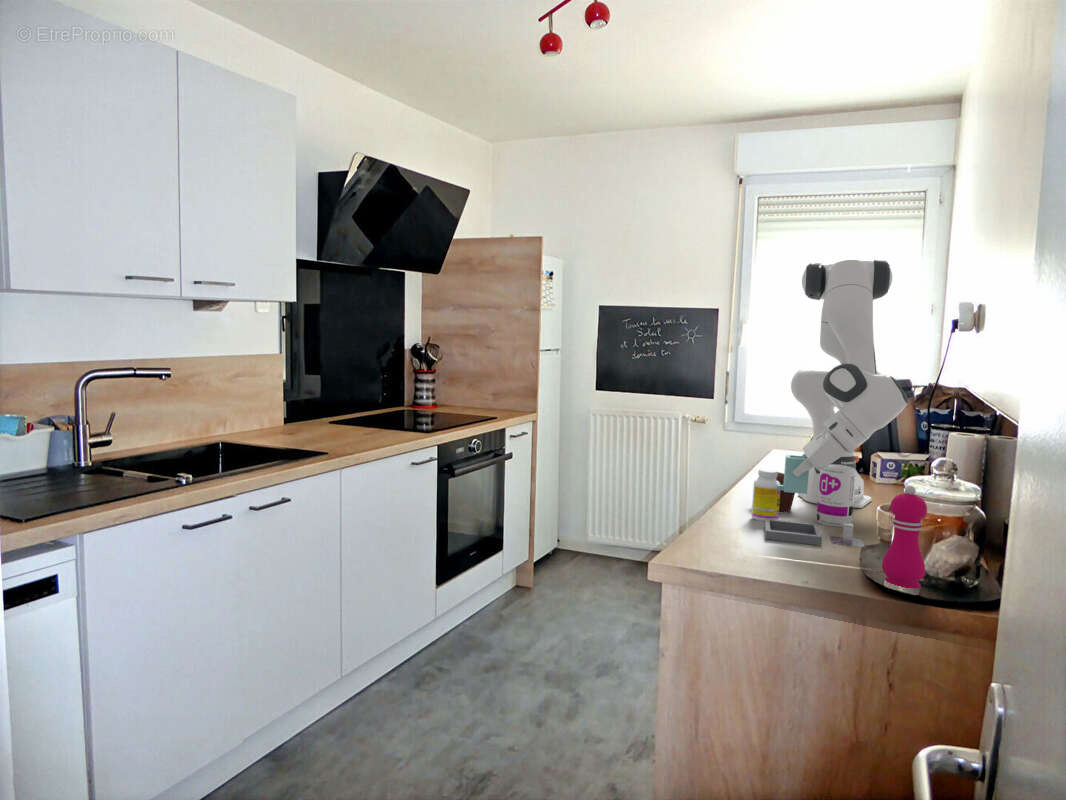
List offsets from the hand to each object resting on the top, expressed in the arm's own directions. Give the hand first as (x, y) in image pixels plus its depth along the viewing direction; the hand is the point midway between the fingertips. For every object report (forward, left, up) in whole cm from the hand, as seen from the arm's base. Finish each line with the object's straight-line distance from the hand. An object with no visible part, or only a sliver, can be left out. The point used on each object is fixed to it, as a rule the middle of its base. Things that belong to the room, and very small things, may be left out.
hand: (793, 471), depth 170 cm
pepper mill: (+18, +32, -16) cm, 39 cm away
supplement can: (-22, +1, -16) cm, 28 cm away
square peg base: (-7, +11, -16) cm, 20 cm away
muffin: (-25, -17, -16) cm, 35 cm away
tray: (0, +1, -16) cm, 16 cm away
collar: (0, +1, -4) cm, 4 cm away
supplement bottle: (-11, -12, -16) cm, 23 cm away
